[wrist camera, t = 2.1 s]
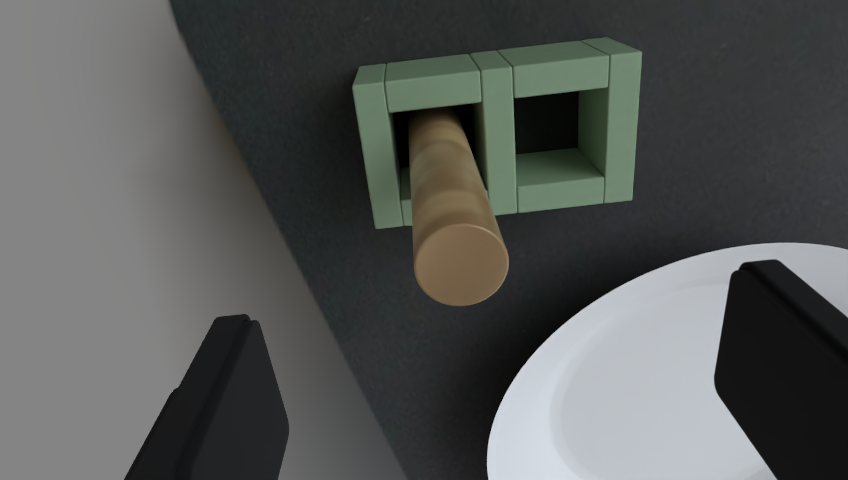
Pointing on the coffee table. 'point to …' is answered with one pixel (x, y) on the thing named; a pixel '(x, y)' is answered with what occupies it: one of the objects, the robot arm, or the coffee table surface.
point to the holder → (509, 123)
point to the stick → (451, 213)
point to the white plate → (644, 379)
